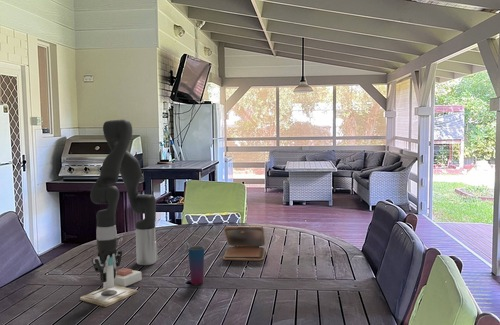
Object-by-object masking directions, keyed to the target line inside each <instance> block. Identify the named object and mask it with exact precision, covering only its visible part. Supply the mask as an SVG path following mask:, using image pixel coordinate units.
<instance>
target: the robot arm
mask: <svg viewBox="0 0 500 325" xmlns="http://www.w3.org/2000/svg"><path fill="white" fill-rule="evenodd" d="M102 131H103V132H102V133H103V136H104V138H105V141H106V142H107V145H108V147H109V148H110V152H109V153H108V154H107V156H106V157H105V159H104V160H103V161H102V164H101V170H100V174H99V176H98V178H97V180H96V181H95V183H94V184H93V186H92V188H91V190H90V194H89V197H90V201H91V202H92V203H93V204H94V205H108V206H107V208H105V209H100V210H98V211H97V212H96V215H95V216H96V231H95V232H96V235H95V236H96V249H97V256H96V257H95V258H93V257H92V258H91V262H92V265H93V268H94V271H95V273H100V274H99V275H100V276H99V277H100V278H99V279H100V281H101V283H103V282H106V281H107V279H106V273H105V272H106V267H107V266H108V260H109V257H113V263H114V264H113V270H114V278H115V277H116V271H117V268H118V267H119V266H121V262H122V257H123V251H122V250H118V249H117V248H118V236H117V235H118V233H117V231H118V230H117V225H116V224H117V223H116V220H117V219H116V212H117V207H118V203H119V199H120V190H119V189H118V187H117V186H116V185H114V184H116V183H117V182H118V181H119V176H120V177H121V178H122V181H123V184H124V187H125V189H126V190H125V191H126V192H127V197H128V200H129V205H130V207H131V210H132V211H133V213H135V214H137V215H138V214H140V215H142V214H144V215H145V217H144V218H142V219H139V220H138V221H137V220H136V222H135V223H134V224H135V251H136V255H135V256H136V264H137V265H139V266H150V265H154V264H156V263H157V262H158V242H157V241H156V240H157V239H156V220H157V218H156V217H157V216H156V215H157V214H156V212H157V202H156V196H154V195H153V194H146V193H145V194H141V193H139V190H138V186H139V183H140V181H141V179H142V177H143V174H142V173H143V172H142V169H141V165H140V162H139V160H138V159H137V158H136V157H135V155H134V154H132V153H131V152H129V151H128V147H129V145H130V143H131V140H132V136H133V126H132V122H130V120H128V119H114V120H113V119H112V120H106V121H105V122H104V123H103V125H102ZM102 263H105V264H102Z"/></svg>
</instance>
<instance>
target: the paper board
mask: <svg viewBox="0 0 500 325" xmlns="http://www.w3.org/2000/svg"><path fill="white" fill-rule="evenodd" d="M137 293H138V290H137V289H132V288H130V287H122V286H118V285H114V287H113V288H109V289H106V288H103V287H102V288H100V289H97V290H94V291H92V292H90V293H88V294H85V295H82V296H80V297H79V298H80V301H83V302H86V303H90V304H94V305H96V306H101V307H105V308H107V307H109V306H111V305H114V304H116V303H118V302H120V301H122V300H124V299H126V298H129V297H130V296H133V295H135V294H137Z"/></svg>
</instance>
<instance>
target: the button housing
mask: <svg viewBox="0 0 500 325" xmlns="http://www.w3.org/2000/svg"><path fill="white" fill-rule="evenodd" d="M142 276H143V275H142V271H141V270H140V271H139V270H133V269H132V273H131V274H129V275H126V276H121V275H117V270H116V277H115V278H114V285H117V286H121V287H125V288H127V287H128V286H131V285H132V284H136V283H137V282H139V281H142Z"/></svg>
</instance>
